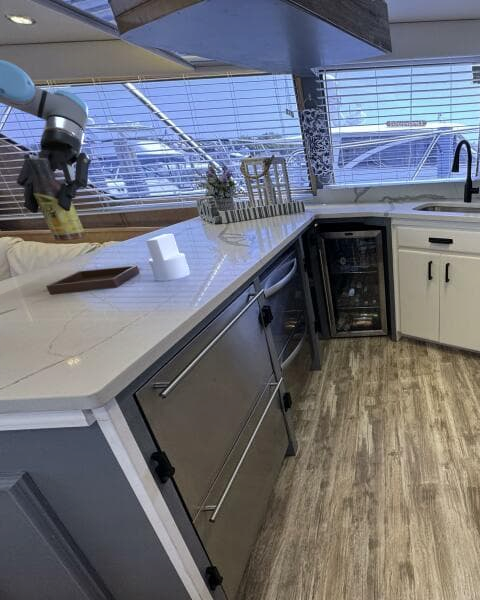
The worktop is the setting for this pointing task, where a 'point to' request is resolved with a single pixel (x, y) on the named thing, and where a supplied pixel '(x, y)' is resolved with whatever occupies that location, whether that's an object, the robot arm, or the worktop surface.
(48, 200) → the sauce bottle
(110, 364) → the worktop surface
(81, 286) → the tray
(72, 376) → the worktop surface
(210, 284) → the worktop surface
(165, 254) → the cylinder with rectangular tab
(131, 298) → the worktop surface
